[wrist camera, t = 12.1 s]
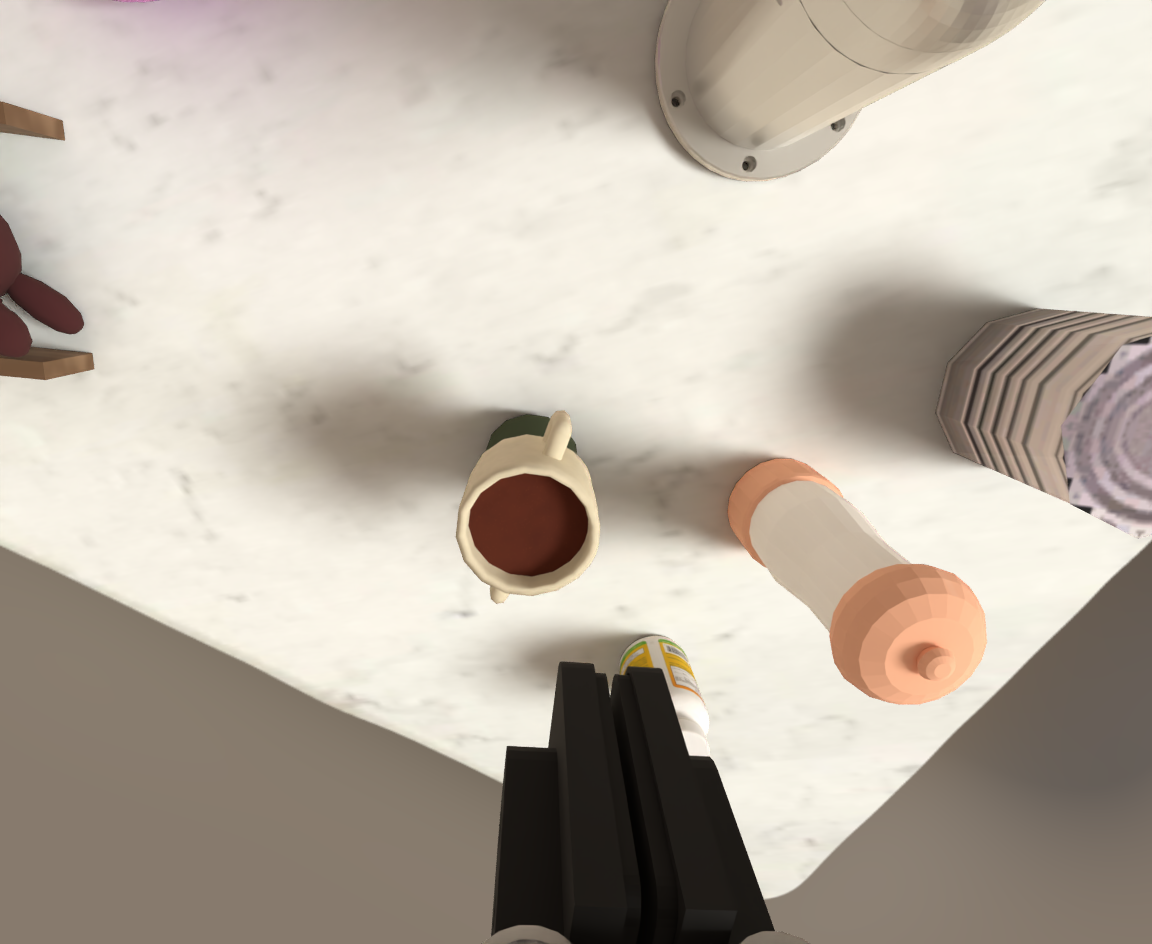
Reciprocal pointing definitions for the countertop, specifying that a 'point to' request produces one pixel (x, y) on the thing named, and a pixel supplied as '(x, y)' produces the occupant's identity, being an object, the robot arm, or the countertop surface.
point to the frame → (37, 359)
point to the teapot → (135, 0)
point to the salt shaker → (859, 586)
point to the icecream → (28, 301)
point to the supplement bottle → (674, 686)
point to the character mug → (529, 509)
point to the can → (1060, 408)
